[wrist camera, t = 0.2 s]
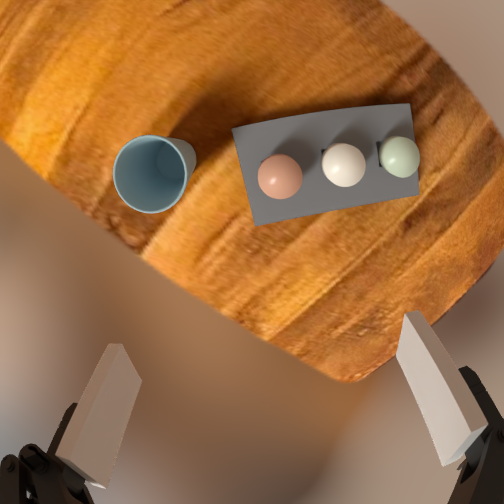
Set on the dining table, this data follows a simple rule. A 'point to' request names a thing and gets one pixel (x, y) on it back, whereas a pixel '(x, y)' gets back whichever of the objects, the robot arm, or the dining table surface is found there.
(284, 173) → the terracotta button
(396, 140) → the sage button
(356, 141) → the gray rectangular slab
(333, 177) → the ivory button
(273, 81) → the dining table surface
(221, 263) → the dining table surface
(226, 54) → the dining table surface
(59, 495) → the robot arm
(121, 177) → the cup
